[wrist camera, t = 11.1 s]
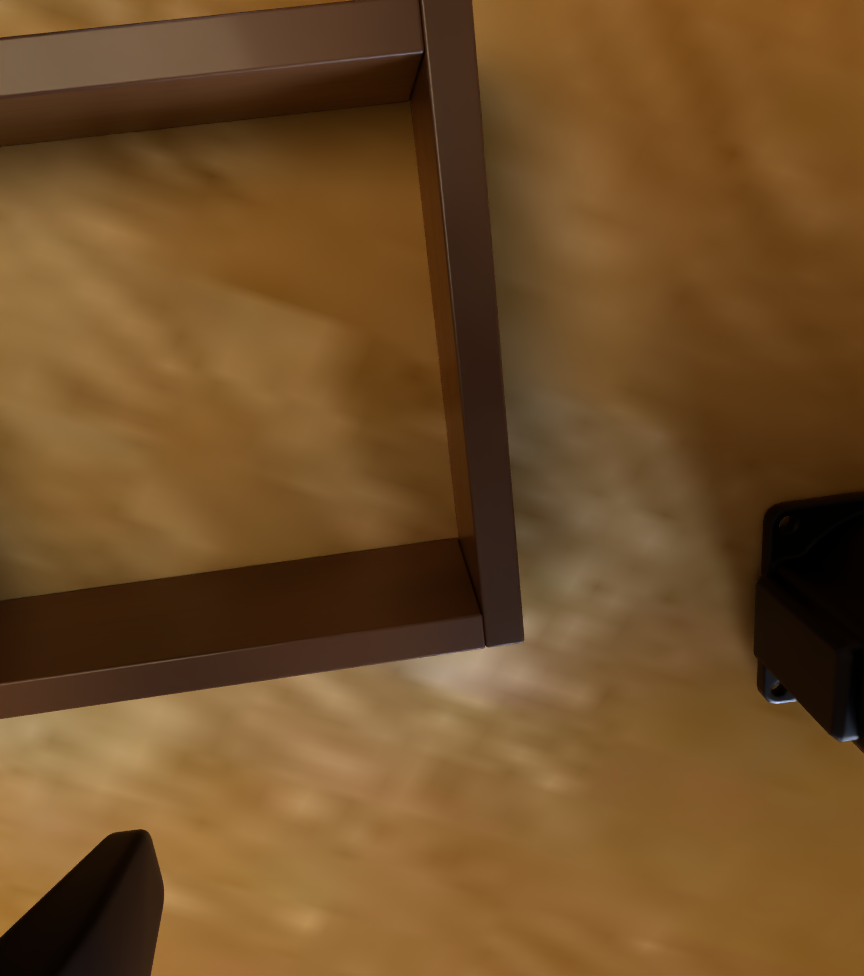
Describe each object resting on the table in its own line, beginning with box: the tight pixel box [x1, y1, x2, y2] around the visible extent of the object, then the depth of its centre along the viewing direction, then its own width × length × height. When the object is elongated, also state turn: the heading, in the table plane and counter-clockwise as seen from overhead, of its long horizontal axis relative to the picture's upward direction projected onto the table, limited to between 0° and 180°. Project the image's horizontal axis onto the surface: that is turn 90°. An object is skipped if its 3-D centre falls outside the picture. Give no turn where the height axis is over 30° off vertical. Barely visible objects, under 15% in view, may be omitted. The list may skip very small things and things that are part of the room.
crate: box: [0, 0, 524, 719], centre depth 16 cm, size 16×13×4 cm
